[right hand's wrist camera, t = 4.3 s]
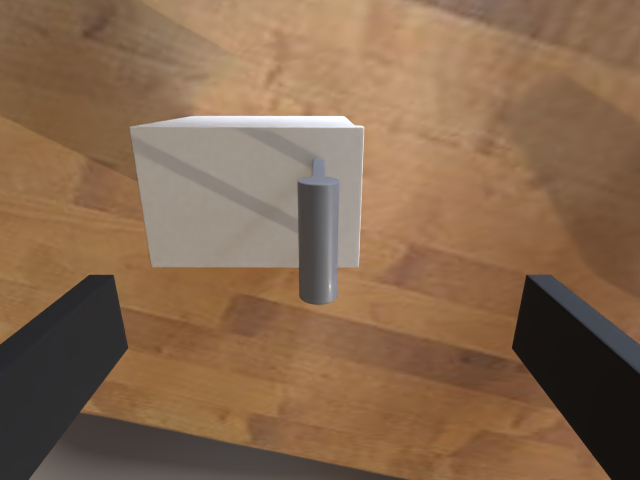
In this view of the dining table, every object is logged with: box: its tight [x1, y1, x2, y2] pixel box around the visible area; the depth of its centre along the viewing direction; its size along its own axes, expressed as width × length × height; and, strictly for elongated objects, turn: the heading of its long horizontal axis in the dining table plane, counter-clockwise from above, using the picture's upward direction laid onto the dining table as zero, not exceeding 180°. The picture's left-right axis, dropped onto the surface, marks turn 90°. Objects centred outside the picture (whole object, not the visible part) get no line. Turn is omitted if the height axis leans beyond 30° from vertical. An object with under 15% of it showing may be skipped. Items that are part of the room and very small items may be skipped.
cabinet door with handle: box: [130, 125, 364, 305], centre depth 22 cm, size 14×9×9 cm, turn 90°
